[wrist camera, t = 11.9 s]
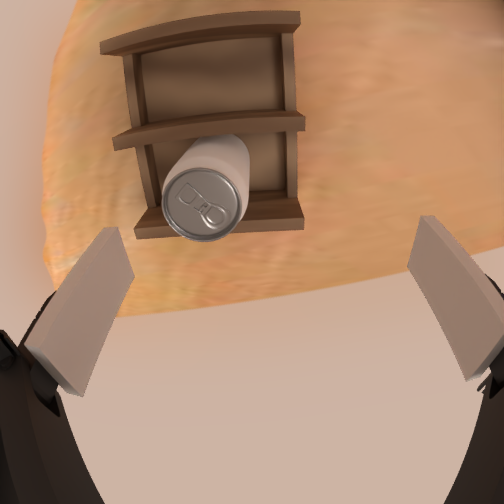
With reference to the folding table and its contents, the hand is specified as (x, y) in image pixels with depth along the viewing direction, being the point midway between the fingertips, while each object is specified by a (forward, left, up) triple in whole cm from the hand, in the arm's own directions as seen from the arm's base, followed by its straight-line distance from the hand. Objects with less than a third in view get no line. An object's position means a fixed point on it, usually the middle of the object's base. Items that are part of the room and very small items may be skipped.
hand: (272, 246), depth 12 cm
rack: (-3, -5, -21) cm, 22 cm away
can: (+2, -4, -20) cm, 20 cm away
